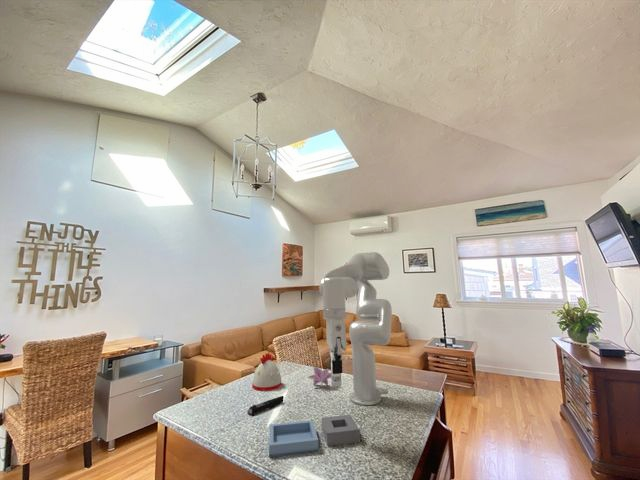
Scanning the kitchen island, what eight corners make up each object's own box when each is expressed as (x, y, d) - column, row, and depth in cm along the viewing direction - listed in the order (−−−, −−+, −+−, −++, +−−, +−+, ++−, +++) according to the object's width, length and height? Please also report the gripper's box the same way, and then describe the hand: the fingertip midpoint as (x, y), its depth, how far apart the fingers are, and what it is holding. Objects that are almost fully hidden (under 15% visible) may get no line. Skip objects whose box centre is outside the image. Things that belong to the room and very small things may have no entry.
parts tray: (312, 430, 90) (312, 420, 91) (318, 451, 78) (318, 439, 79) (269, 434, 88) (269, 424, 88) (268, 457, 76) (269, 445, 77)
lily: (339, 389, 128) (336, 367, 134) (329, 386, 119) (325, 363, 125) (317, 395, 131) (314, 373, 137) (305, 392, 123) (303, 370, 129)
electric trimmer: (285, 405, 111) (285, 396, 112) (251, 417, 101) (252, 408, 101) (280, 402, 114) (280, 394, 114) (246, 414, 103) (246, 405, 104)
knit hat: (246, 387, 131) (246, 354, 133) (267, 379, 142) (267, 348, 144) (266, 393, 123) (267, 358, 125) (287, 384, 134) (287, 351, 136)
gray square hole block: (350, 426, 92) (350, 414, 93) (359, 442, 83) (359, 429, 83) (321, 429, 91) (321, 417, 91) (327, 446, 81) (327, 433, 82)
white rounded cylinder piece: (339, 382, 91) (339, 351, 92) (342, 386, 88) (341, 353, 89) (330, 383, 90) (329, 351, 92) (332, 387, 87) (331, 354, 89)
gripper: (351, 316, 85) (354, 378, 82) (339, 311, 101) (340, 364, 98) (328, 316, 84) (330, 380, 81) (319, 312, 100) (320, 365, 97)
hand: (336, 371), depth 90 cm, fingers closed on white rounded cylinder piece, 3 cm apart
